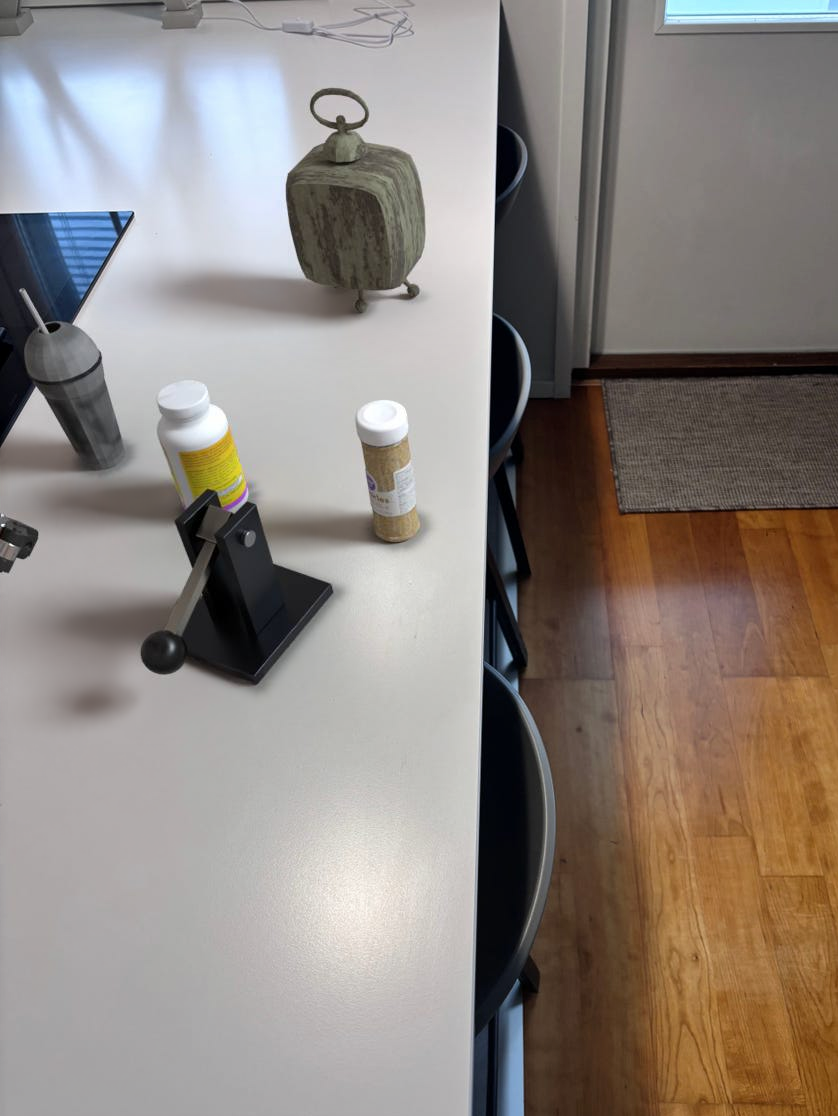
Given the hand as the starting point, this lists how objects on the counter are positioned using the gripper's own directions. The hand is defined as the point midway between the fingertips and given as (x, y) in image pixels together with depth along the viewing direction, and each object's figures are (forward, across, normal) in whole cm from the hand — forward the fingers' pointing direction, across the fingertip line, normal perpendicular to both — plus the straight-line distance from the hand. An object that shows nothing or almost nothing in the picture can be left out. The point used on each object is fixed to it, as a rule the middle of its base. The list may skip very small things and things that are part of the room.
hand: (24, 541), depth 67 cm
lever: (+16, -6, -1) cm, 17 cm away
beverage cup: (+36, +21, -8) cm, 42 cm away
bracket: (+24, -7, 0) cm, 25 cm away
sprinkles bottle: (+32, -13, -14) cm, 37 cm away
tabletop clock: (+56, +11, -40) cm, 70 cm away
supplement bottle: (+33, +6, -9) cm, 34 cm away
